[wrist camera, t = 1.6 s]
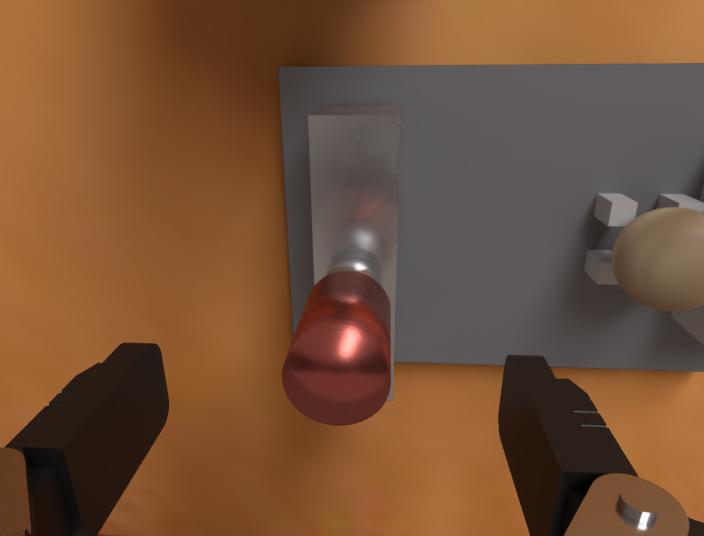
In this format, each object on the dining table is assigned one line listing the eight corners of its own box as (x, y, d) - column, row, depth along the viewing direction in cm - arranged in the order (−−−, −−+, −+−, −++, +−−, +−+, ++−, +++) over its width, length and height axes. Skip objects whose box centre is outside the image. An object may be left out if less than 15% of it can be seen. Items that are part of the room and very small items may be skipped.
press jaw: (398, 104, 21) (407, 146, 10) (392, 338, 25) (393, 551, 14) (326, 104, 21) (256, 145, 10) (331, 337, 25) (286, 545, 14)
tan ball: (706, 196, 20) (777, 225, 17) (683, 287, 22) (743, 332, 18) (604, 195, 21) (651, 223, 17) (588, 285, 22) (628, 329, 18)
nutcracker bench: (787, 62, 21) (886, 61, 17) (702, 355, 26) (762, 410, 22) (284, 66, 22) (260, 66, 18) (299, 343, 27) (283, 393, 23)
